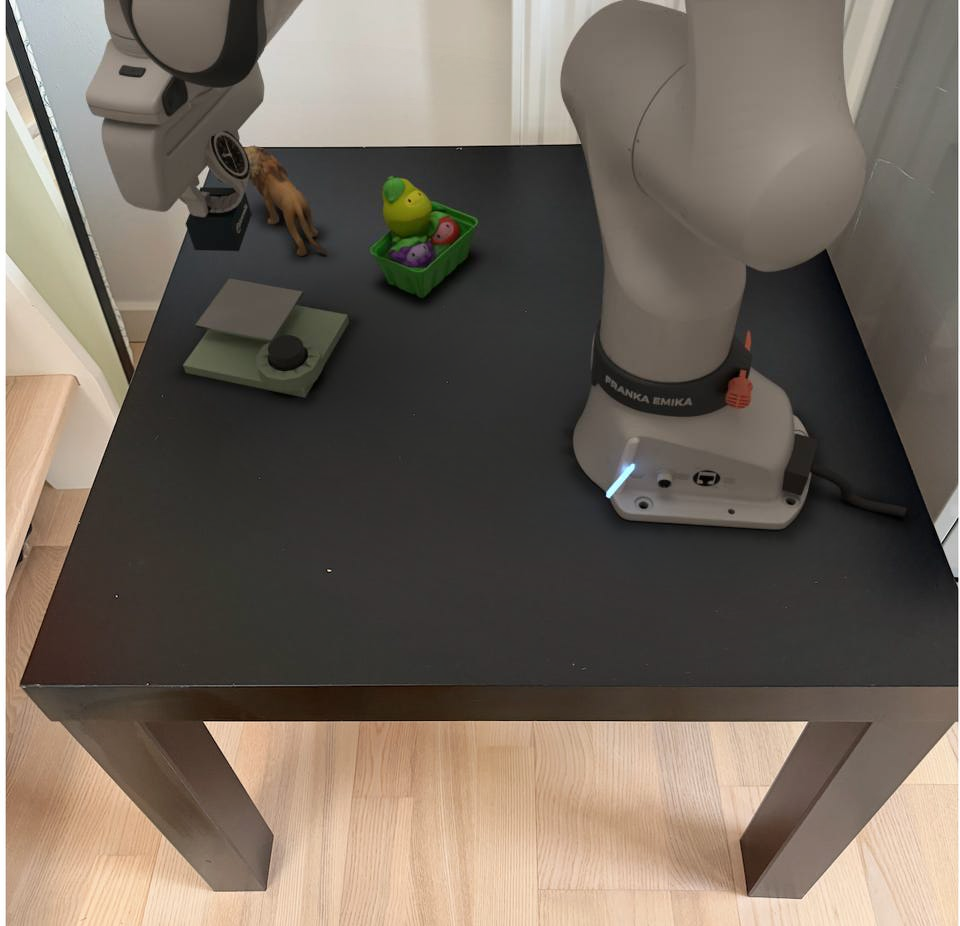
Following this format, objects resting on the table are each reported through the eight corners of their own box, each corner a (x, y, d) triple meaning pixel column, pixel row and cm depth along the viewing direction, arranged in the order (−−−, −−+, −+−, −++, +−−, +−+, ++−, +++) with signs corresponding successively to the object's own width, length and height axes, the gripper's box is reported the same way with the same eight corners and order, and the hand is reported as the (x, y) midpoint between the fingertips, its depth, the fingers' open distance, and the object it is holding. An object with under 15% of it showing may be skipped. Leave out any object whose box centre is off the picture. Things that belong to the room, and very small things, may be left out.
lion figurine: (241, 214, 115) (223, 150, 108) (276, 196, 117) (261, 132, 110) (309, 266, 108) (295, 201, 101) (345, 246, 110) (333, 181, 103)
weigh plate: (303, 294, 100) (302, 291, 99) (272, 342, 95) (271, 339, 95) (230, 280, 102) (229, 278, 101) (195, 327, 97) (194, 324, 97)
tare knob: (311, 350, 95) (308, 338, 93) (297, 374, 92) (294, 362, 91) (280, 344, 95) (276, 332, 94) (265, 367, 93) (261, 355, 92)
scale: (355, 323, 101) (351, 303, 99) (309, 404, 93) (303, 384, 91) (236, 301, 104) (230, 280, 102) (182, 378, 96) (174, 357, 94)
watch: (259, 251, 87) (230, 150, 78) (176, 249, 87) (139, 149, 78) (271, 214, 90) (245, 113, 81) (192, 212, 90) (157, 112, 82)
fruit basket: (424, 309, 102) (415, 225, 93) (364, 282, 105) (350, 198, 97) (482, 255, 108) (479, 172, 99) (423, 231, 111) (415, 148, 102)
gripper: (199, -8, 82) (236, 133, 92) (71, 107, 69) (131, 254, 80) (263, -1, 80) (292, 141, 91) (144, 117, 68) (194, 266, 79)
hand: (216, 195), depth 85 cm, fingers closed on watch, 4 cm apart
